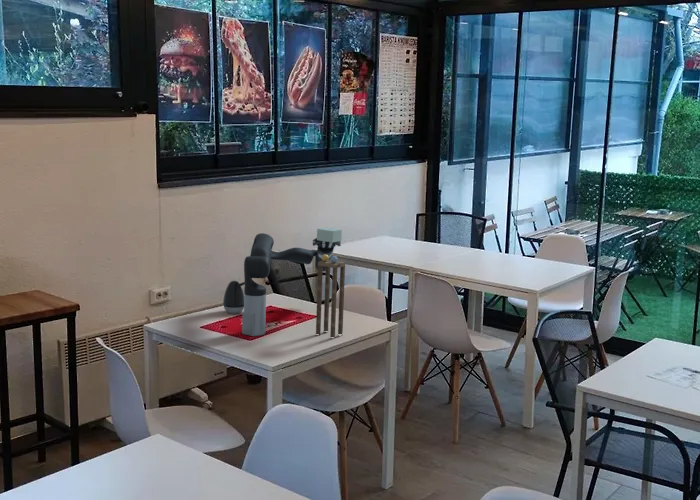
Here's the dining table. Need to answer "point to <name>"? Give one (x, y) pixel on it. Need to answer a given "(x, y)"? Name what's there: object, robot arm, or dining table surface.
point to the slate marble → (334, 259)
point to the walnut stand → (334, 292)
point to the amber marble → (325, 257)
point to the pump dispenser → (234, 298)
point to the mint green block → (329, 234)
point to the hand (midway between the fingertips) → (328, 235)
